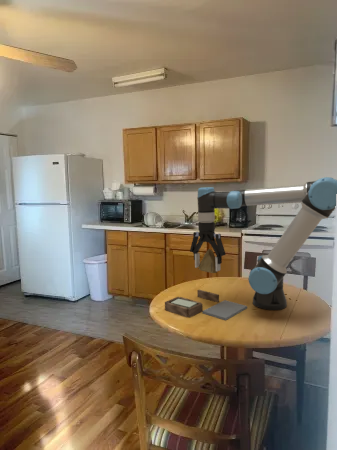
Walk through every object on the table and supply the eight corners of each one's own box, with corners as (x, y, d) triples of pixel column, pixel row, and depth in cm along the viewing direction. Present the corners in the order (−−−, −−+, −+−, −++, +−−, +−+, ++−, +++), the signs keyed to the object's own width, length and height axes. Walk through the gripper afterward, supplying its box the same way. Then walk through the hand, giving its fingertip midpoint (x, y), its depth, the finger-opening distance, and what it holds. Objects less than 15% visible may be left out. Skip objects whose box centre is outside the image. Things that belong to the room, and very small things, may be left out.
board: (247, 308, 154) (247, 306, 154) (225, 320, 141) (225, 318, 140) (224, 302, 162) (224, 300, 162) (202, 313, 149) (202, 311, 148)
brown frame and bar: (221, 302, 162) (221, 295, 161) (188, 318, 144) (188, 310, 143) (197, 295, 171) (197, 289, 171) (164, 309, 153) (163, 302, 153)
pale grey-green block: (197, 311, 151) (197, 303, 151) (190, 316, 146) (190, 307, 146) (178, 306, 157) (178, 298, 157) (171, 310, 153) (170, 302, 152)
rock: (223, 268, 150) (221, 260, 160) (211, 254, 148) (209, 247, 158) (204, 282, 152) (203, 274, 162) (192, 268, 150) (191, 260, 160)
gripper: (233, 222, 148) (233, 270, 150) (191, 219, 164) (192, 263, 166) (223, 223, 142) (224, 274, 145) (181, 221, 158) (182, 266, 161)
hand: (207, 268), depth 156 cm, fingers closed on rock, 11 cm apart
